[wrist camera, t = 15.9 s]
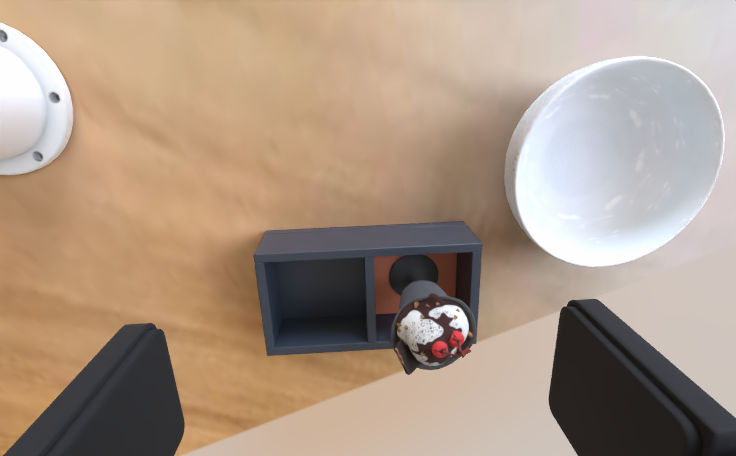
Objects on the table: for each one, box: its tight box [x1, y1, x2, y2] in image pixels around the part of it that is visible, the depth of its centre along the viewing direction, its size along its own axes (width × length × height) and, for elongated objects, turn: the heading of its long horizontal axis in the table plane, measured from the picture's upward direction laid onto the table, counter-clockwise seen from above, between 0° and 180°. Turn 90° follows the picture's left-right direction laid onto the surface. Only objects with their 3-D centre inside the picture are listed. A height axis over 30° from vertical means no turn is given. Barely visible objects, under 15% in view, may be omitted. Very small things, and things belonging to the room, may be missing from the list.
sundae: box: [389, 255, 476, 375], centre depth 34 cm, size 7×7×15 cm
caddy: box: [254, 221, 482, 356], centre depth 40 cm, size 10×19×6 cm, turn 92°
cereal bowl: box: [504, 56, 724, 267], centre depth 36 cm, size 17×17×7 cm
